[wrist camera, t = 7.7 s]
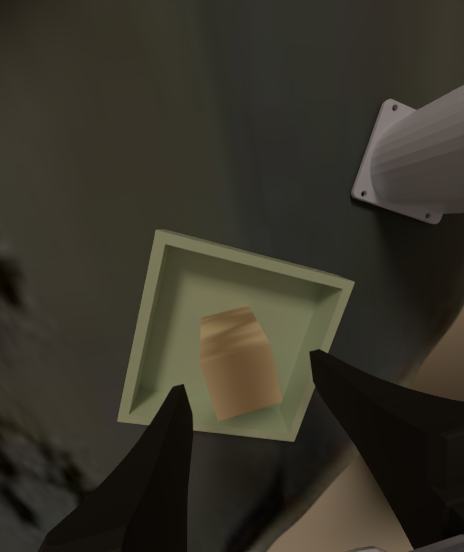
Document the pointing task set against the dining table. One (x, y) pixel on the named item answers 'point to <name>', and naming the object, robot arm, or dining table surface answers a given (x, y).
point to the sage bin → (218, 298)
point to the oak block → (237, 363)
